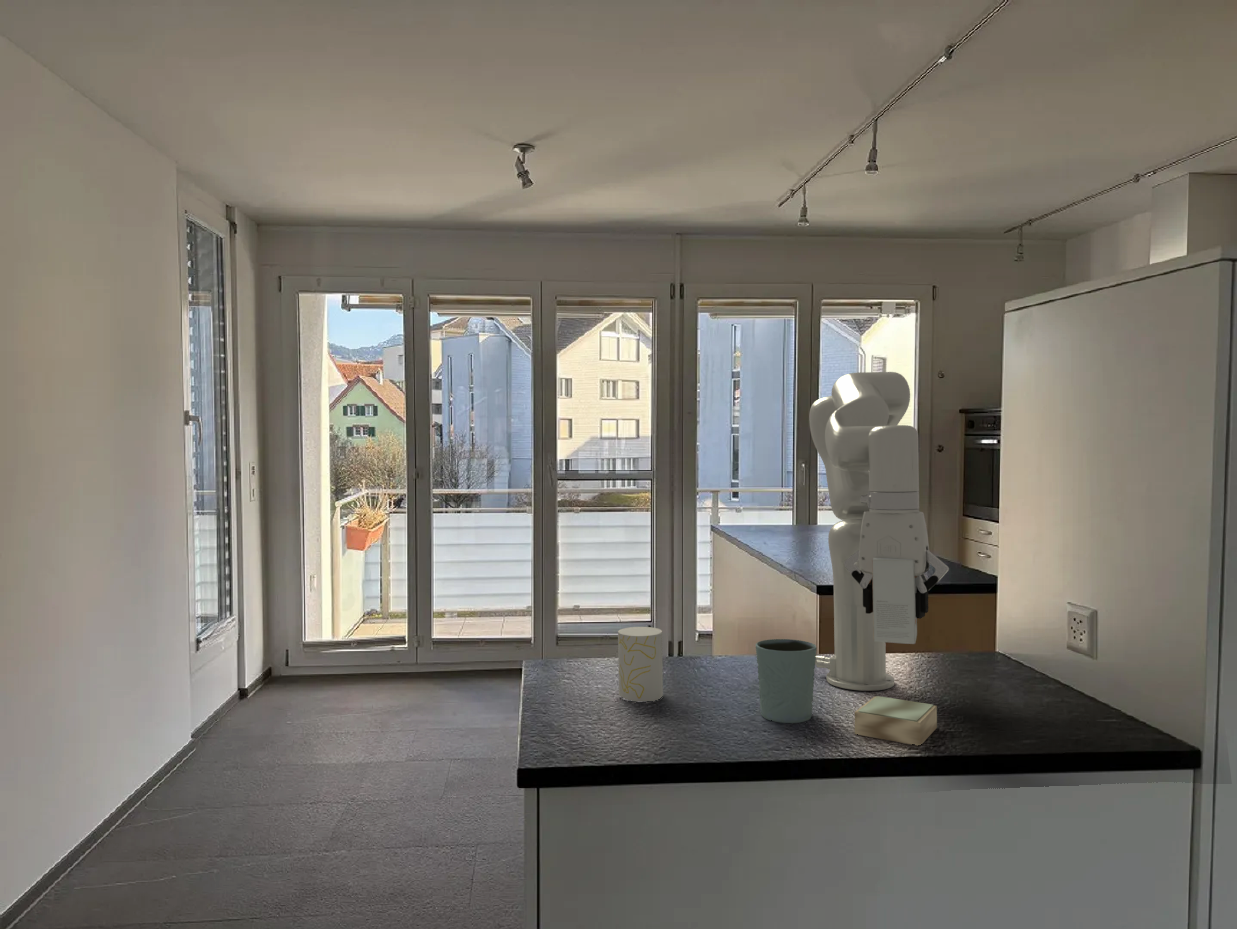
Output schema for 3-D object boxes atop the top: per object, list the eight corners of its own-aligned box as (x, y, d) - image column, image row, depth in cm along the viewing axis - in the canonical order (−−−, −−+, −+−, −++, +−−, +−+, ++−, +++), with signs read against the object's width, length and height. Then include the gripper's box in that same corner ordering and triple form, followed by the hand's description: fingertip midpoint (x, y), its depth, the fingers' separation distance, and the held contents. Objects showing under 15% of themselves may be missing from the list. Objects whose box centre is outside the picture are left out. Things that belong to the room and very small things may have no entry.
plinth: (854, 734, 130) (854, 710, 130) (874, 717, 139) (874, 695, 139) (920, 746, 125) (919, 721, 125) (936, 727, 133) (936, 704, 133)
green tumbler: (751, 720, 138) (750, 648, 138) (762, 703, 147) (761, 636, 147) (813, 727, 134) (812, 653, 134) (820, 709, 144) (819, 640, 144)
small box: (876, 631, 136) (875, 552, 136) (917, 634, 134) (916, 553, 134) (872, 641, 129) (871, 558, 129) (915, 644, 126) (914, 559, 126)
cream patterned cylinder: (612, 700, 151) (611, 634, 150) (628, 688, 158) (627, 625, 158) (654, 704, 147) (653, 637, 147) (668, 692, 155) (667, 628, 155)
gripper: (832, 503, 133) (833, 613, 133) (945, 505, 123) (946, 624, 123) (848, 501, 139) (849, 606, 139) (957, 503, 129) (958, 616, 130)
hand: (895, 613), depth 131 cm, fingers closed on small box, 7 cm apart
